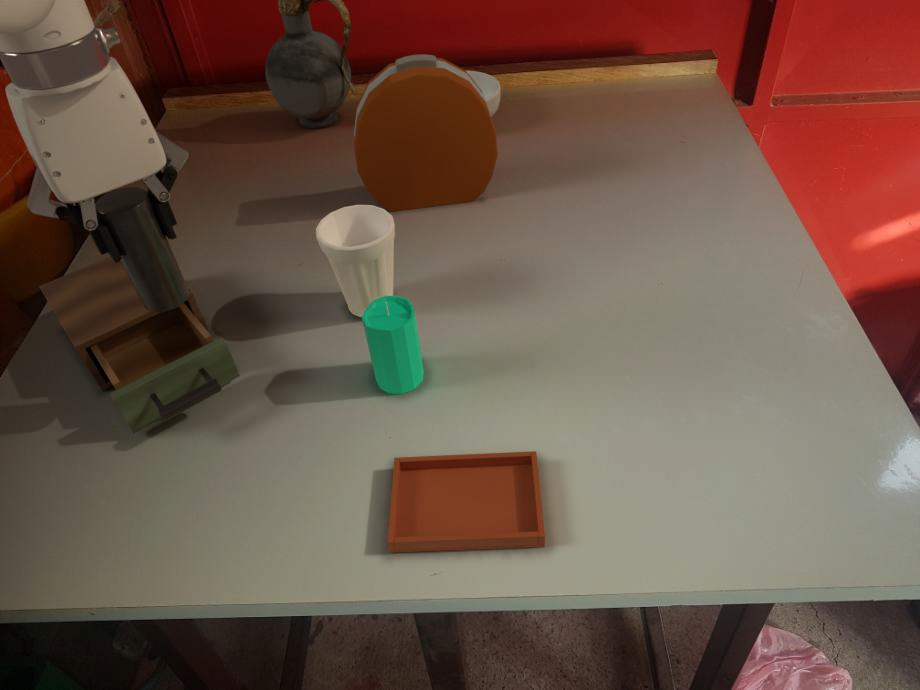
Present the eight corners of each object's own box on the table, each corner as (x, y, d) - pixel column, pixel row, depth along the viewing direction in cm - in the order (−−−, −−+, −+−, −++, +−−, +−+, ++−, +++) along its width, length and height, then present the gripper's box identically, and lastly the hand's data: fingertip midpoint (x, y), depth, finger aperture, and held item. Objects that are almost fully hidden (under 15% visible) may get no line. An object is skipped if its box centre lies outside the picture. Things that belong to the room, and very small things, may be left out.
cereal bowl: (491, 146, 126) (490, 108, 122) (404, 141, 130) (400, 105, 125) (508, 104, 138) (508, 69, 133) (428, 102, 142) (425, 67, 137)
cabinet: (211, 336, 93) (191, 291, 88) (102, 391, 87) (74, 346, 82) (167, 283, 103) (147, 240, 97) (65, 329, 97) (38, 286, 91)
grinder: (152, 319, 71) (103, 219, 63) (136, 297, 74) (88, 199, 66) (196, 298, 73) (154, 199, 65) (179, 278, 76) (137, 181, 68)
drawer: (256, 395, 84) (242, 360, 80) (147, 456, 78) (126, 422, 74) (193, 319, 95) (178, 285, 91) (94, 367, 89) (73, 334, 85)
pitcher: (301, 104, 145) (263, -57, 125) (380, 115, 139) (354, -52, 118) (270, 127, 138) (225, -39, 118) (352, 140, 132) (320, -33, 111)
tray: (389, 552, 68) (387, 542, 67) (396, 468, 76) (394, 457, 74) (544, 546, 67) (545, 536, 66) (536, 461, 75) (536, 451, 74)
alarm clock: (490, 168, 121) (485, 34, 105) (499, 198, 114) (495, 59, 98) (364, 183, 120) (339, 51, 104) (365, 214, 113) (339, 77, 97)
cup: (367, 339, 91) (349, 259, 82) (320, 308, 96) (298, 229, 87) (421, 301, 96) (410, 221, 87) (374, 273, 101) (359, 195, 92)
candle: (405, 352, 89) (392, 278, 80) (434, 377, 85) (423, 302, 77) (366, 375, 86) (349, 301, 78) (394, 402, 83) (379, 327, 74)
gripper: (142, 21, 62) (207, 198, 75) (-66, 78, 55) (43, 263, 68) (173, 41, 58) (236, 226, 70) (-49, 107, 51) (65, 299, 63)
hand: (141, 242), depth 69 cm, fingers closed on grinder, 4 cm apart
